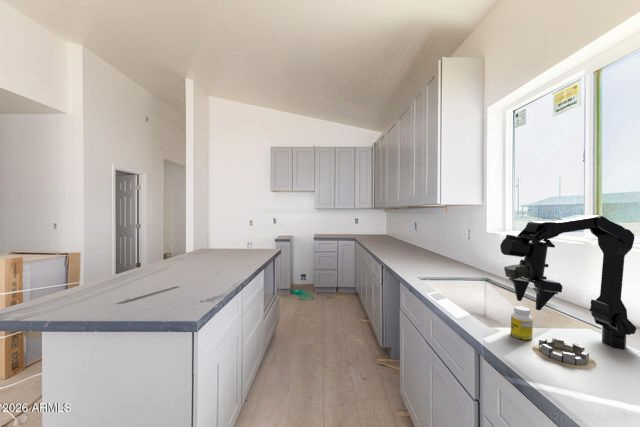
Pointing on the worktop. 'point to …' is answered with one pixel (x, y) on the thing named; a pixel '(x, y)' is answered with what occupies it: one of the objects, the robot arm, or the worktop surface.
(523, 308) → the pill bottle
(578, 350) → the castellated collar
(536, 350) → the flange plate
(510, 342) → the worktop surface
